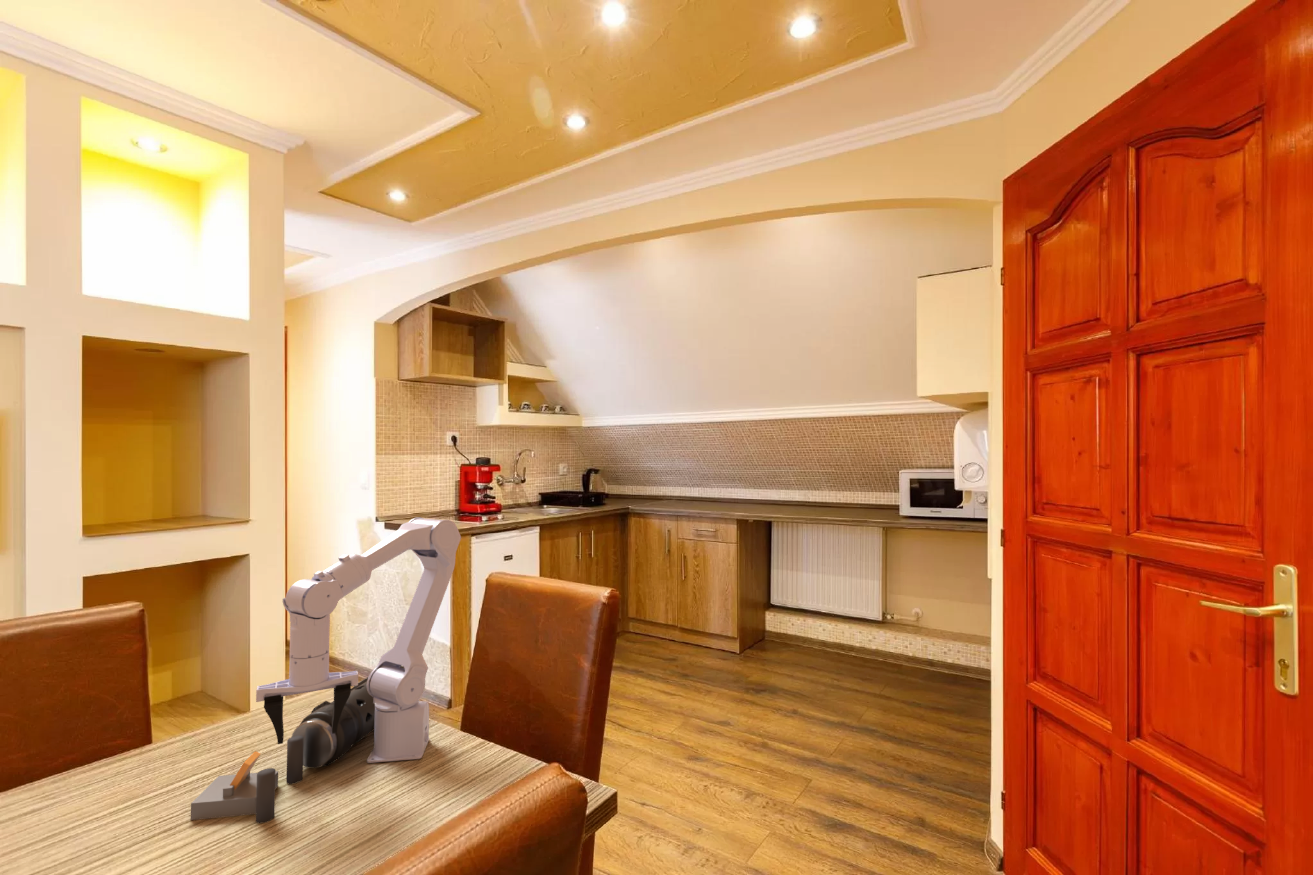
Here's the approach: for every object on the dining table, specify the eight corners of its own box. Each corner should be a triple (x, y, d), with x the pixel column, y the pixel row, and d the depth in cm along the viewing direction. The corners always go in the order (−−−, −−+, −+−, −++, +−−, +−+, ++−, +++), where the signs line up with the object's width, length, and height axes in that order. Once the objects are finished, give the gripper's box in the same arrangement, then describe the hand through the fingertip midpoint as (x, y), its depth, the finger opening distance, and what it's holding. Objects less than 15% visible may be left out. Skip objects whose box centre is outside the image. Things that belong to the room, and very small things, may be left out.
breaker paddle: (245, 778, 99) (260, 753, 99) (233, 790, 95) (249, 765, 95) (239, 775, 98) (255, 750, 99) (227, 788, 95) (243, 762, 95)
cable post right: (304, 775, 105) (305, 735, 105) (299, 783, 102) (300, 741, 102) (289, 777, 104) (290, 736, 104) (283, 784, 102) (284, 742, 102)
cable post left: (277, 812, 94) (278, 767, 94) (270, 822, 91) (271, 775, 92) (260, 814, 93) (261, 768, 94) (252, 823, 91) (253, 777, 91)
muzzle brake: (367, 686, 134) (402, 716, 133) (272, 745, 106) (315, 784, 105) (392, 652, 134) (427, 682, 132) (303, 703, 106) (346, 741, 105)
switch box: (277, 785, 101) (278, 763, 101) (255, 813, 93) (256, 789, 94) (218, 791, 100) (219, 767, 100) (190, 819, 92) (191, 794, 92)
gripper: (357, 640, 107) (355, 717, 106) (259, 652, 100) (257, 735, 99) (359, 651, 101) (357, 733, 100) (255, 666, 93) (253, 754, 93)
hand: (308, 736), depth 99 cm, fingers open, 7 cm apart
